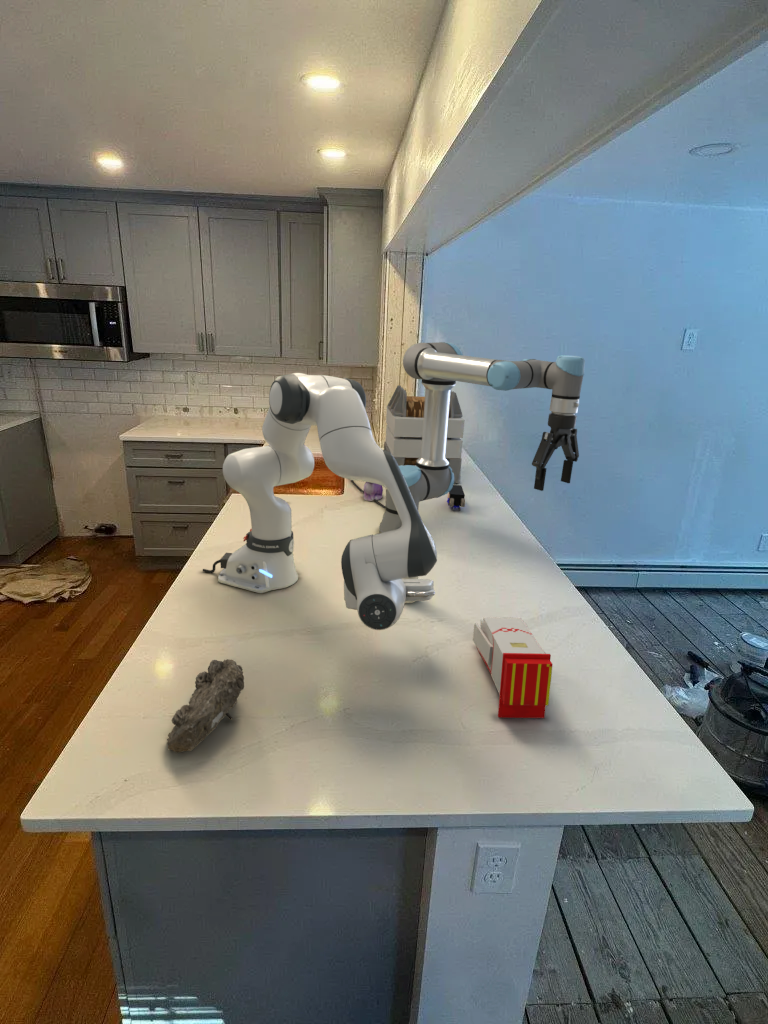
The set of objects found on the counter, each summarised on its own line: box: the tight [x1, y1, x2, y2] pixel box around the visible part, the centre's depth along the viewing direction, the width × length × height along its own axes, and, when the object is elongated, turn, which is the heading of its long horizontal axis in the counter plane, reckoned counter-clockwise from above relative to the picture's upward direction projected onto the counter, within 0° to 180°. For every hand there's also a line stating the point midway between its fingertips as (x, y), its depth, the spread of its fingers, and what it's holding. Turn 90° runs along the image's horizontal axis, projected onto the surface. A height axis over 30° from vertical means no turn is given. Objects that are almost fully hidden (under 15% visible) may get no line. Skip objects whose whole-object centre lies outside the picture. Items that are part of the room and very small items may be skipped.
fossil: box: [166, 658, 245, 754], centre depth 106 cm, size 22×10×15 cm
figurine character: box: [446, 484, 466, 511], centre depth 229 cm, size 7×8×15 cm
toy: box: [472, 616, 553, 719], centre depth 122 cm, size 12×13×30 cm
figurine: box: [362, 482, 384, 502], centre depth 233 cm, size 9×10×15 cm
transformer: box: [383, 384, 465, 484], centre depth 268 cm, size 34×33×41 cm
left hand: (391, 582), depth 134 cm, fingers open, 8 cm apart
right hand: (552, 485), depth 166 cm, fingers open, 13 cm apart
